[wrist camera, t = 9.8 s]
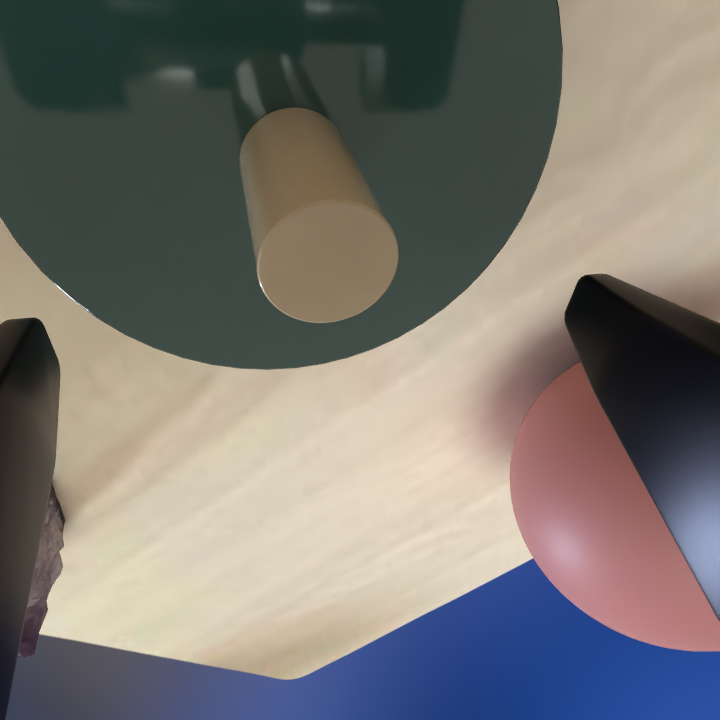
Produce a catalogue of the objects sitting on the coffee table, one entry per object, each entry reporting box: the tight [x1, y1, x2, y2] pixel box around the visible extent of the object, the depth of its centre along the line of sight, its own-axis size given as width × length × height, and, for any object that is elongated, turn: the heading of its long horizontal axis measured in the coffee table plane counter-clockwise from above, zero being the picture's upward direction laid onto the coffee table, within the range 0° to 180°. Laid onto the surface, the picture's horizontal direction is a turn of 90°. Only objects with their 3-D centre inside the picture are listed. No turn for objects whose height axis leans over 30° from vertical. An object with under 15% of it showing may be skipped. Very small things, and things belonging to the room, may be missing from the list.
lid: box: [0, 0, 563, 370], centre depth 12 cm, size 14×14×6 cm
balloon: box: [510, 362, 720, 651], centre depth 28 cm, size 15×20×15 cm
